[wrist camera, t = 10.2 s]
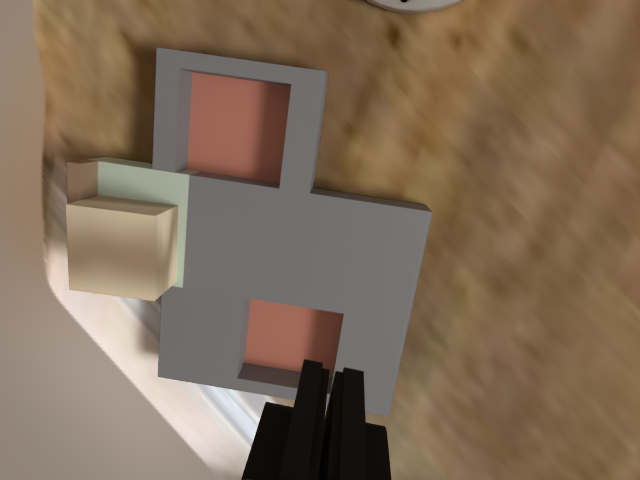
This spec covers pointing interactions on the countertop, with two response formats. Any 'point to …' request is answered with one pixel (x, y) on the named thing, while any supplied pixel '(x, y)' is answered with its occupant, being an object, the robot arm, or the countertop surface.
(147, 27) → the countertop surface
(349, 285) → the board
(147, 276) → the birch block
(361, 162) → the countertop surface
